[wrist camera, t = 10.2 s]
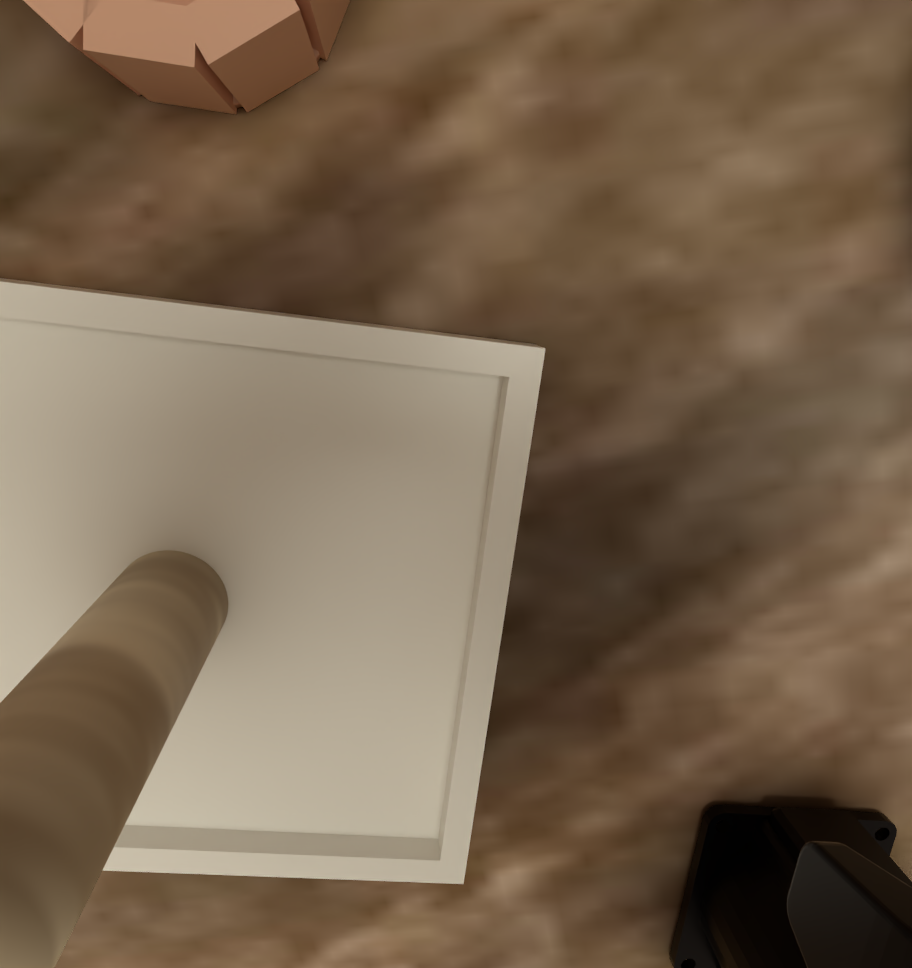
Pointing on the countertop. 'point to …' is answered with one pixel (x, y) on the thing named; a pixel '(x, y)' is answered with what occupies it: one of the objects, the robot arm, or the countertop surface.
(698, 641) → the countertop surface
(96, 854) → the dowel
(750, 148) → the countertop surface
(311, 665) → the tray
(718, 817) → the robot arm
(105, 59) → the cup
